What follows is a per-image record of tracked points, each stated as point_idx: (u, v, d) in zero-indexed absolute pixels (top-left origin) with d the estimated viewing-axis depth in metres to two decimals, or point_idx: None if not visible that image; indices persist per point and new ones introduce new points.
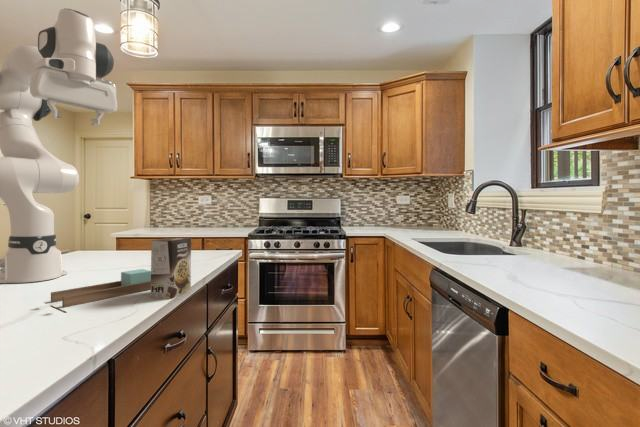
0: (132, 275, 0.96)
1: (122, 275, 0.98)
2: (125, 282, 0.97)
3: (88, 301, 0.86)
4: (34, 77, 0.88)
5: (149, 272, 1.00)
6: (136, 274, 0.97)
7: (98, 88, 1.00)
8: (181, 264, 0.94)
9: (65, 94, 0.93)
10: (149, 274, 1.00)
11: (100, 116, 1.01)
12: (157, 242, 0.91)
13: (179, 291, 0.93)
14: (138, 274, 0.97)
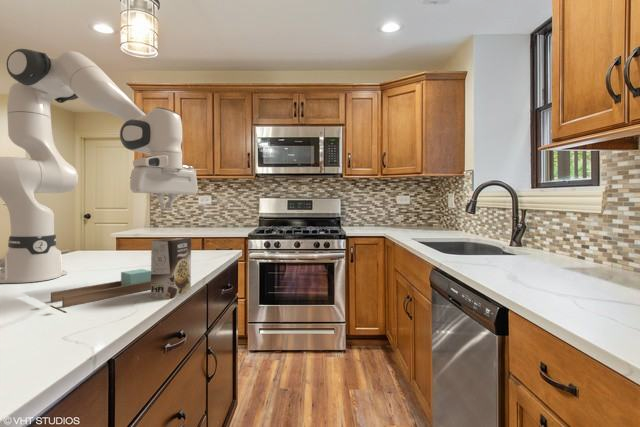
0: (132, 275, 0.96)
1: (122, 275, 0.98)
2: (125, 282, 0.97)
3: (88, 301, 0.86)
4: (135, 176, 0.97)
5: (149, 272, 1.00)
6: (136, 274, 0.97)
7: (184, 175, 1.09)
8: (181, 264, 0.94)
9: (159, 187, 1.02)
10: (149, 274, 1.00)
11: (173, 200, 1.07)
12: (157, 242, 0.91)
13: (179, 291, 0.93)
14: (138, 274, 0.97)
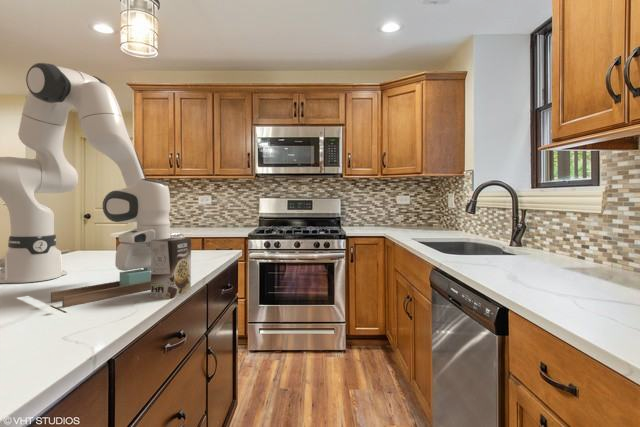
0: (131, 275, 0.95)
1: (121, 275, 0.97)
2: (123, 282, 0.96)
3: (88, 301, 0.86)
4: (120, 254, 0.95)
5: (148, 272, 0.99)
6: (135, 274, 0.96)
7: None
8: (181, 264, 0.94)
9: (145, 261, 0.99)
10: (148, 274, 0.99)
11: None
12: (157, 242, 0.91)
13: (179, 291, 0.93)
14: (137, 274, 0.97)
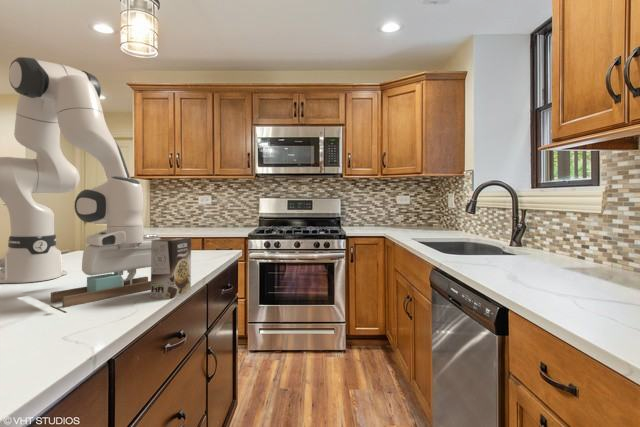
0: (98, 280, 0.88)
1: (88, 280, 0.90)
2: (91, 287, 0.90)
3: (88, 301, 0.86)
4: (87, 257, 0.88)
5: (118, 277, 0.93)
6: (103, 279, 0.89)
7: (145, 248, 0.99)
8: (181, 264, 0.94)
9: (115, 265, 0.93)
10: (118, 279, 0.93)
11: (132, 276, 0.97)
12: (157, 242, 0.91)
13: (179, 291, 0.93)
14: (105, 279, 0.90)
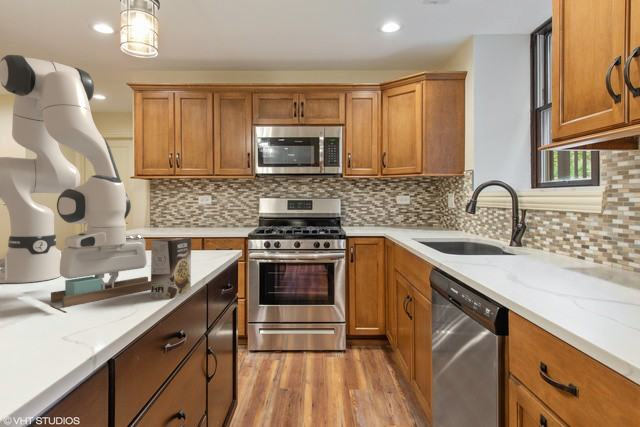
0: (76, 284, 0.84)
1: (66, 284, 0.86)
2: (69, 291, 0.86)
3: (88, 301, 0.86)
4: (65, 260, 0.84)
5: (98, 280, 0.89)
6: (81, 283, 0.85)
7: (128, 249, 0.95)
8: (181, 264, 0.94)
9: (95, 268, 0.89)
10: (98, 282, 0.89)
11: (114, 279, 0.93)
12: (157, 242, 0.91)
13: (179, 291, 0.93)
14: (84, 283, 0.86)
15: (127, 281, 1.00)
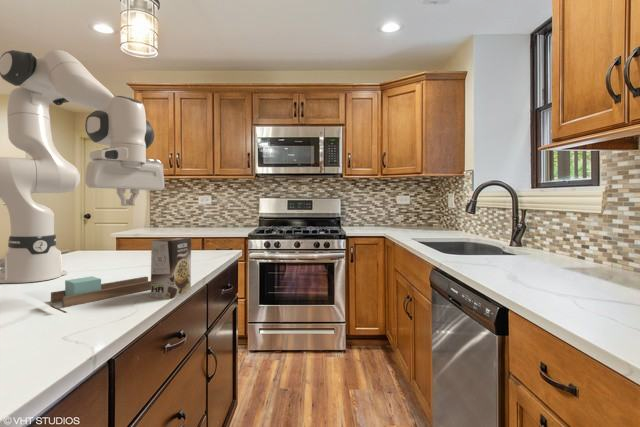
0: (76, 284, 0.84)
1: (66, 284, 0.86)
2: (69, 291, 0.86)
3: (88, 301, 0.86)
4: (90, 170, 0.90)
5: (98, 280, 0.88)
6: (81, 283, 0.85)
7: (148, 170, 1.01)
8: (181, 264, 0.94)
9: (118, 181, 0.94)
10: (98, 282, 0.89)
11: (135, 196, 0.99)
12: (157, 242, 0.91)
13: (179, 291, 0.93)
14: (84, 283, 0.86)
15: (127, 281, 1.00)
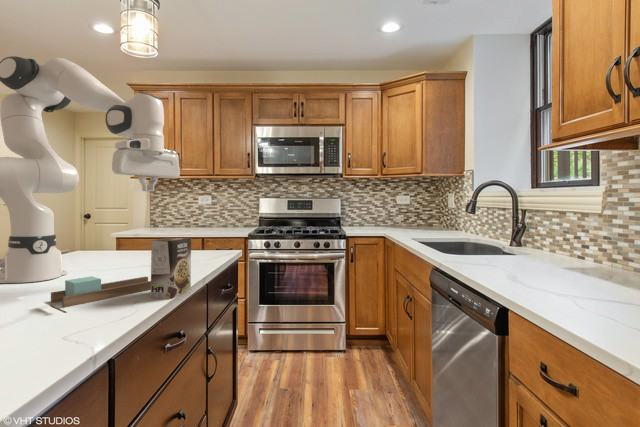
0: (76, 284, 0.84)
1: (66, 284, 0.86)
2: (69, 291, 0.86)
3: (88, 301, 0.86)
4: (117, 158, 1.01)
5: (98, 280, 0.88)
6: (81, 283, 0.85)
7: (166, 159, 1.12)
8: (181, 264, 0.94)
9: (140, 169, 1.05)
10: (98, 282, 0.89)
11: (154, 182, 1.10)
12: (157, 242, 0.91)
13: (179, 291, 0.93)
14: (84, 283, 0.86)
15: (127, 281, 1.00)
